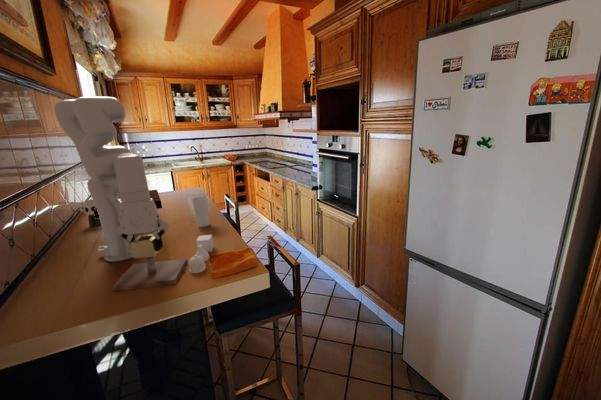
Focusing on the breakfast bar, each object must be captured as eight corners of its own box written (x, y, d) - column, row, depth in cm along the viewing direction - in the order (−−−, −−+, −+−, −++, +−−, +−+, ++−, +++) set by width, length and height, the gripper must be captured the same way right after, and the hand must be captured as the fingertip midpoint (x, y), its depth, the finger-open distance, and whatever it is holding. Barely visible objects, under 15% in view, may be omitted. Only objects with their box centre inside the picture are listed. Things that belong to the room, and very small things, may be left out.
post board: (113, 291, 85) (108, 271, 83) (134, 268, 98) (129, 251, 96) (175, 283, 86) (171, 264, 85) (187, 262, 100) (184, 245, 98)
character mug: (81, 228, 143) (74, 204, 139) (87, 224, 149) (81, 200, 146) (106, 225, 146) (100, 201, 142) (110, 221, 152) (105, 197, 149)
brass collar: (133, 258, 87) (129, 243, 85) (141, 249, 93) (138, 235, 91) (155, 256, 87) (151, 241, 86) (162, 247, 93) (159, 233, 92)
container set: (200, 248, 111) (198, 235, 110) (214, 247, 112) (212, 234, 110) (187, 274, 92) (184, 259, 91) (204, 272, 93) (201, 257, 91)
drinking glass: (213, 224, 137) (209, 194, 133) (202, 229, 132) (197, 198, 128) (204, 222, 141) (200, 193, 137) (193, 227, 135) (188, 196, 131)
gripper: (98, 202, 81) (113, 259, 85) (161, 196, 82) (172, 252, 87) (111, 195, 88) (124, 248, 93) (169, 191, 90) (179, 243, 94)
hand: (147, 250), depth 90 cm, fingers closed on brass collar, 6 cm apart
